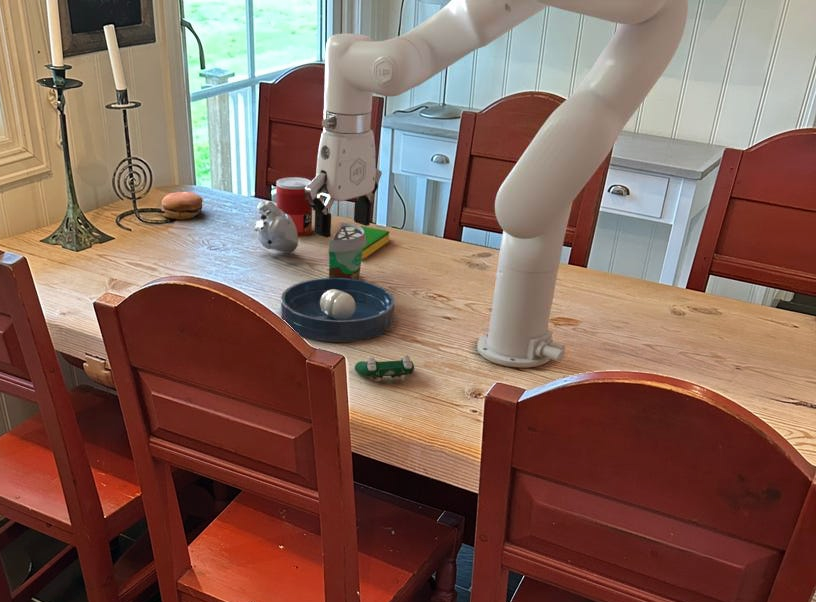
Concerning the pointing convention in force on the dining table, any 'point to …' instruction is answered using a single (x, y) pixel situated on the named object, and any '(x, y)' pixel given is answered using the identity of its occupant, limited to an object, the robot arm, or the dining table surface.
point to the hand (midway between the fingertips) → (342, 229)
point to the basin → (311, 322)
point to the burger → (181, 205)
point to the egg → (337, 304)
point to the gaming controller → (385, 368)
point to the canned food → (295, 202)
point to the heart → (276, 228)
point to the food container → (346, 252)
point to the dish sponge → (374, 240)
